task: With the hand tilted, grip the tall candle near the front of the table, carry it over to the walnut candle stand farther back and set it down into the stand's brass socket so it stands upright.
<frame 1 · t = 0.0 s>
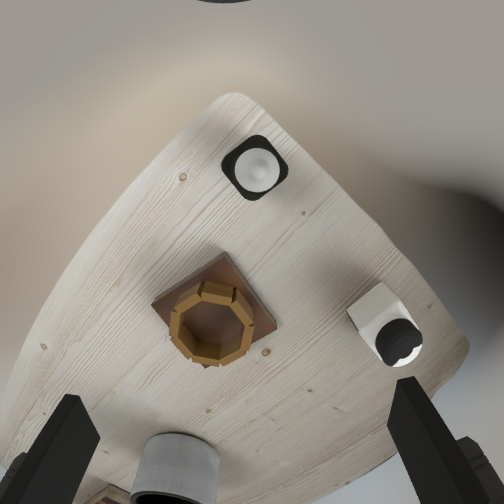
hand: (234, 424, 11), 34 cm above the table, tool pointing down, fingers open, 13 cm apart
candle: (253, 166, 41), on the table
medicine bottle: (373, 309, 47), on the table
stand: (215, 310, 47), on the table
planter: (182, 452, 57), on the table
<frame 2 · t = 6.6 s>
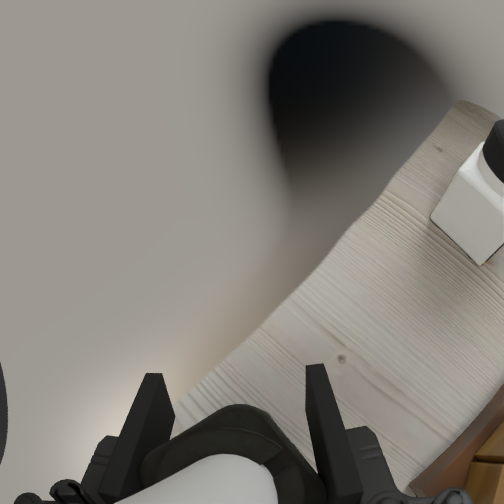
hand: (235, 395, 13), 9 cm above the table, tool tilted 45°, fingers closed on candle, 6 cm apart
candle: (252, 450, 19), on the table, touching gripper
medicine bottle: (467, 224, 27), on the table
stand: (496, 475, 15), on the table
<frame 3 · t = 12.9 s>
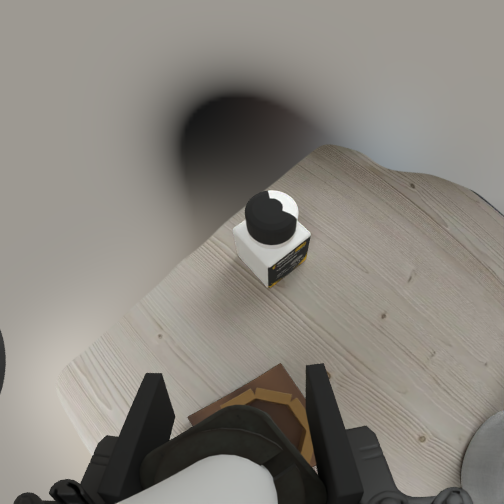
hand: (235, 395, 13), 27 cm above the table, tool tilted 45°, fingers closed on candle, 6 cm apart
candle: (252, 450, 19), point 18 cm above the table, touching gripper
medicine bottle: (271, 258, 46), on the table
stand: (263, 434, 35), on the table
planter: (496, 458, 28), on the table
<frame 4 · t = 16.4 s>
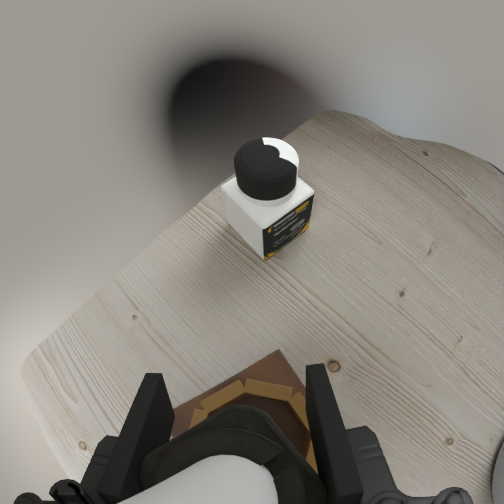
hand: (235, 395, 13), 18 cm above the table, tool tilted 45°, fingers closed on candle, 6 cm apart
candle: (252, 450, 19), point 9 cm above the table, touching gripper
medicine bottle: (268, 226, 39), on the table
stand: (257, 439, 27), on the table
when the fingers open (11 cm above the table, at t = 19.2 s): candle stays where it is, resting on stand.
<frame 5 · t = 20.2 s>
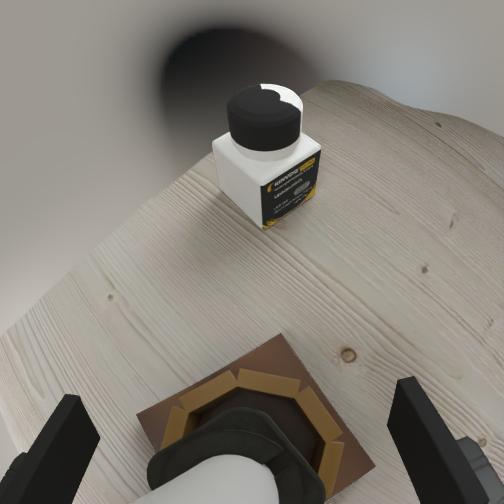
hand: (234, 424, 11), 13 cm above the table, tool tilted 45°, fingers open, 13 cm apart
candle: (253, 450, 20), point 2 cm above the table, touching stand
medicine bottle: (267, 193, 34), on the table
stand: (254, 446, 22), on the table
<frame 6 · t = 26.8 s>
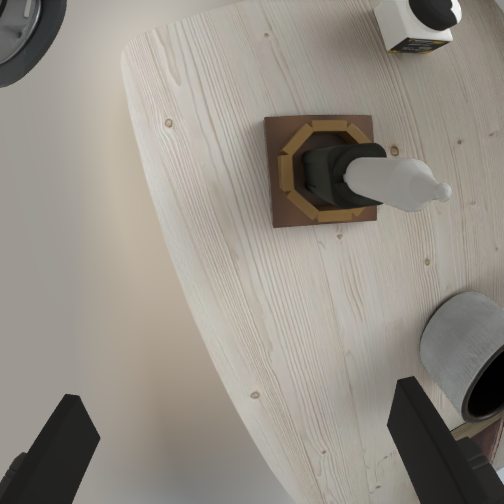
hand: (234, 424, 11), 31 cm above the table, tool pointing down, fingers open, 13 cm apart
candle: (323, 170, 36), point 2 cm above the table, touching stand
medicine bottle: (400, 31, 33), on the table
stand: (319, 168, 38), on the table
planter: (454, 331, 46), on the table
hardback book: (463, 449, 57), on the table
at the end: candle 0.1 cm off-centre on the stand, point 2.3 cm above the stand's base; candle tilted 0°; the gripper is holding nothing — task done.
